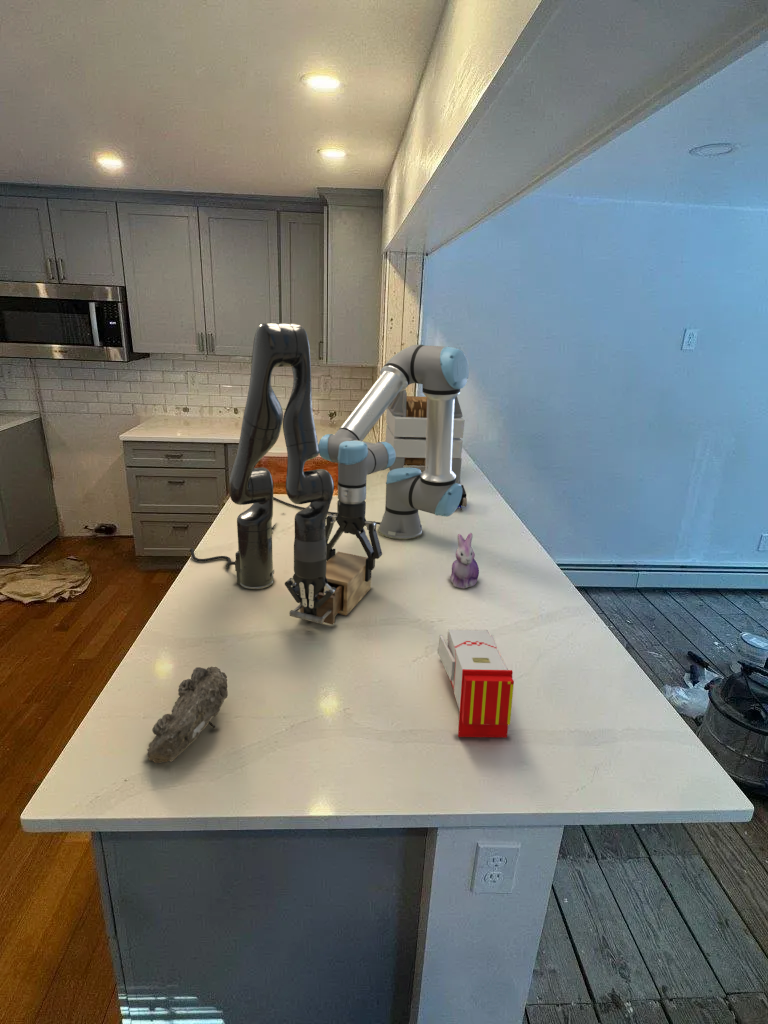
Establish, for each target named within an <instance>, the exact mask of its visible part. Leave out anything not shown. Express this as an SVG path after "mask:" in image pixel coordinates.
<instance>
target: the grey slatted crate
mask: <svg viewBox="0 0 768 1024" xmlns="http://www.w3.org/2000/svg"><path fill="white" fill-rule="evenodd" d="M407 394H408V393H407V390H406V389H405V390H403V391H400V392H399V393H398V394H397V396H396V397H395V398H394V400H393V401H392V402H391V404H390V405H389V406H388V408H387V409H386V413H385V414H386V415H385V423H386V428H385V438H384V442H387V443H389V444H391V445H392V446H393V448H394V450H395V453H396V458H395V462H394V464H393V465H392V466H390V467H389V471H391V470H394V469H398V468H405V466H406V467H407V466H411V467H412V466H413V467H415V466H416V467H417V466H418V467H425V461H426V421H427V397H426V396H415V395H414V396H413V395H412V396H411V395H407ZM464 429H465V419H464V418H463V411H462V408H461V405H460V402H459V398H458V395H457V396H456V397H455V407H454V429H453V451H452V471H453V472H454V473H455V475H456V483H458V484H460V483H461V472H462V461H463V460H462V453H463V442H464V441H463V440H462V439H463V438H464V431H465V430H464Z"/></svg>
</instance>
